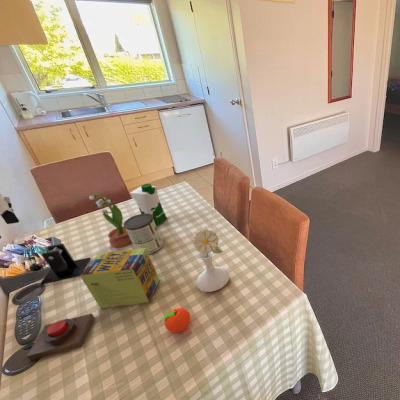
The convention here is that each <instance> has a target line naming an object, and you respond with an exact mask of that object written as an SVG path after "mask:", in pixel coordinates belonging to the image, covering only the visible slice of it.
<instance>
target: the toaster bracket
mask: <svg viewBox="0 0 400 400" xmlns="http://www.w3.org/2000/svg"><path fill="white" fill-rule="evenodd" d="M55 247H57V248H59V249H61V250H63V251H62V252H61V254H60V253H59V251H58V250H56V251H51V250H53V249H54V248H55ZM47 250H48V251H45V252H42V253H41V256H42V257H43V259H45V260H46V262H45V263H47V264H48V266H49V267H50V269H51V270H50V269H49V271H48V272H47V273H46V274H45V276H44V277H43V279H42V281H41V282H40V285H45V284H49V283H54V282H59V281H63V280H69V279H72V278H77V277H80V275H81V274H82V272H83V271H84V270H85V269H86V268H87V267H88V265H89V263H90V261H91V257H86V258H80V259H76V260H74V258H73V256H72V255H71V253H70V252H69V251H68V249H67V247H66V246H65V245H64V243H58V244H52V245H48V246H47ZM50 251H51V252H50Z"/></svg>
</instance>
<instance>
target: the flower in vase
mask: <svg viewBox="0 0 400 400" xmlns="http://www.w3.org/2000/svg"><path fill="white" fill-rule="evenodd" d="M219 241H220V238H219V236H218V234H217V232H215V231H214V230H211V229H208V228H204V229H202V230H199V231H198V232H195V235H194V236H193V240H192V244H193V245H194V248H195V250H196V251H197V252H198V254H197V258H198V259H200V260H202V261H203V263H204V266H205V268H206V269H205V270H203V271H201V273H200V274H199V275H198V276H197V279H196V287H197V289H198V290H199V291H201V292H205V293H213V292H215V291H216V292H217V291H218V290H220V289H222V288H223V287H225V286H226V285H227V283H228V281H229V280H230V277H231V276H230V275H231V274H230V271H229V270H228V269H227V268H225V267H223V266H214V265H213V260H212V258H213V255H214V254H221V253H223V250H222V249H221V248H219V247H218V245H219Z"/></svg>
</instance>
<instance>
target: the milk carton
mask: <svg viewBox="0 0 400 400" xmlns="http://www.w3.org/2000/svg"><path fill="white" fill-rule="evenodd" d="M129 195H131V196H132V198H133V200H135V202H136V205H137V207H138V210H139V212H140V214H151V215H152V216H153V220H154V222H155V225H156V227H158V226H159V225H160V224H162V223H163V222H164V221H165V220H166V219H167V218H168V217H167V215H166V213H165V211H164V208H163V206H162V202H161V200H160V197H159V194H158V188H157V185H152V184H151V183H145V184H142V185H140V186H138V187H137V188H136V189H134V190H132V191H130V193H129Z"/></svg>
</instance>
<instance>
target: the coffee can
mask: <svg viewBox="0 0 400 400" xmlns="http://www.w3.org/2000/svg"><path fill="white" fill-rule="evenodd" d="M122 226H124V227H125V229H126V231H127V233H128V235H129V237H130V239H131V241H132V243H131V244H132V245H133V247H134V249H141V248H146V250H147V252H148V254H149V255H150V254H154V253H155V252H157V251H158V250H160V249H162V248H163V245H164V241H163V239H162V237H161V235H160V232H159V229H158V226H156V225H155V222H154V220H153V216H152V215H151V214H141V213H139V214H135V215H132V216H130V217H128V218H127V219H126V220H125V221H124V222H123V223H122Z"/></svg>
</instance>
